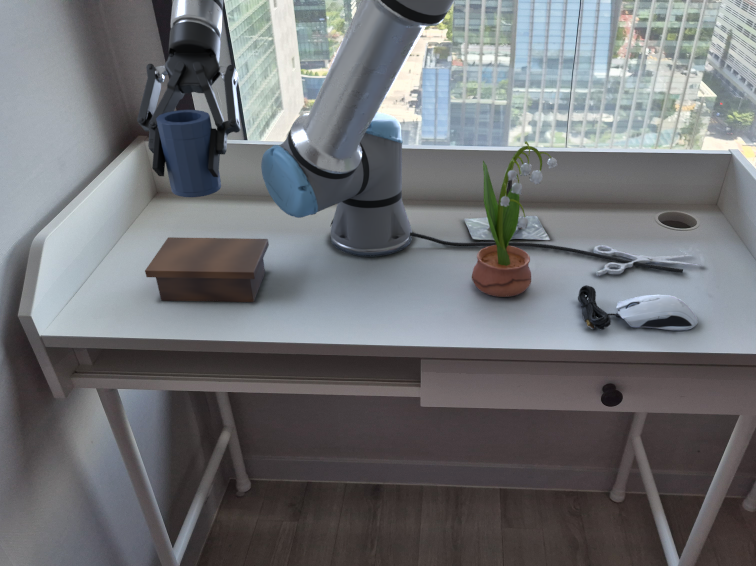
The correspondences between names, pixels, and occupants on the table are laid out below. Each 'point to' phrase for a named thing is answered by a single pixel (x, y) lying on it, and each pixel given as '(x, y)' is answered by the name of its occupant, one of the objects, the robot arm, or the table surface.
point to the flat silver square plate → (534, 231)
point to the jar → (187, 152)
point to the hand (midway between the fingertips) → (185, 172)
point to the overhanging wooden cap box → (209, 269)
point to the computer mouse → (639, 311)
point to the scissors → (634, 257)
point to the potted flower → (506, 233)
